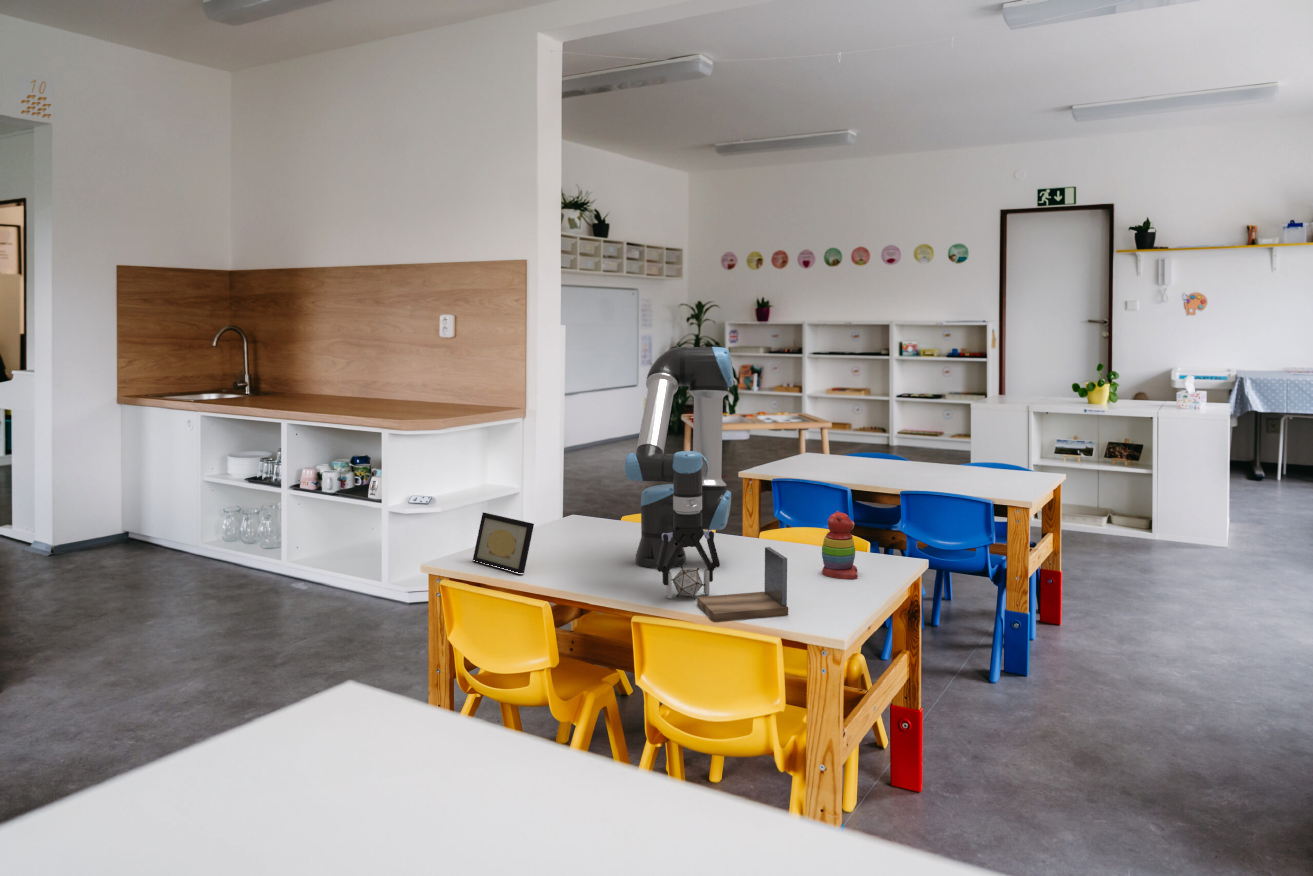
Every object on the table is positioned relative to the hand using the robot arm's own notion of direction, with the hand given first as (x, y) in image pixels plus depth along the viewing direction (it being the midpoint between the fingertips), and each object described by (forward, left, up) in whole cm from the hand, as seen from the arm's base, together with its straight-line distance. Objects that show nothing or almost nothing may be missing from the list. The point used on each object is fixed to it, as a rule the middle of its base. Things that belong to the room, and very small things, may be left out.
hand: (687, 595), depth 236 cm
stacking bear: (-10, +48, -1) cm, 49 cm away
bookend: (+14, +19, +2) cm, 24 cm away
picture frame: (-44, -43, -1) cm, 62 cm away
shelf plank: (+14, +10, 0) cm, 17 cm away
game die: (0, 0, -1) cm, 1 cm away
